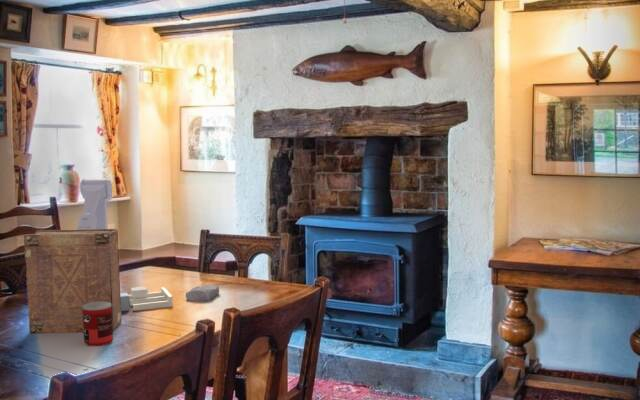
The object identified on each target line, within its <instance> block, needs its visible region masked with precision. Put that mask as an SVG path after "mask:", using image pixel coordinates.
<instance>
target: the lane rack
mask: <svg viewBox="0 0 640 400" xmlns="http://www.w3.org/2000/svg"><path fill="white" fill-rule="evenodd" d="M160 290H161V291H155V292H148V298H141V299H132V300H131V294H128V295H129V307H132V311H133V312H134V311H135V312H136V311H143V310H144V311H145V310H152V309H154V310H155V309H161V308H170V307H171V308H172V307H174V304H173V303H174V302H173V301H174V300H173V298H174V297H173V295H172V294H171V293H170V292H169V291H168V290H167V289H166V287H160Z"/></svg>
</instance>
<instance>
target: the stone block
mask: <svg viewBox="0 0 640 400" xmlns="http://www.w3.org/2000/svg"><path fill="white" fill-rule="evenodd" d="M219 293H220V286H219V285H210V284H209V285H208V284H207V285H206V284H204V285H201V286H199V285H198V286H196V287H193V288H192V289H190V290H189V291H187V292H186V293H185V298H186V300H187V301H189V302H190V301H191V302H192V301H193V302H209V301H211V300H212V299H214V298H215V297H216V296H218V295H219Z"/></svg>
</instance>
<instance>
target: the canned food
mask: <svg viewBox="0 0 640 400" xmlns="http://www.w3.org/2000/svg"><path fill="white" fill-rule="evenodd" d="M82 310H83V329H84V332H83V341H84V344H85V345H87V346H89V347H100V346H105V345H106V346H107V345H109V344H112V342H113V341H114V330H113V325H112V305H111V303H110V302H104V301H99V302H91V303H87V304H84V305H83V308H82Z"/></svg>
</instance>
